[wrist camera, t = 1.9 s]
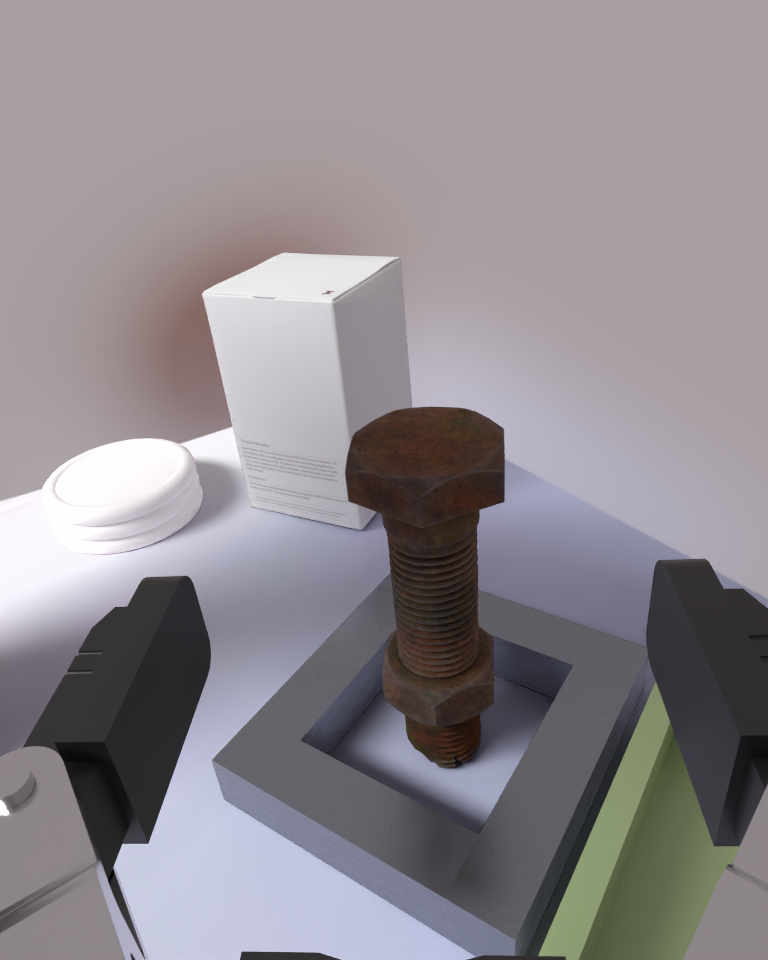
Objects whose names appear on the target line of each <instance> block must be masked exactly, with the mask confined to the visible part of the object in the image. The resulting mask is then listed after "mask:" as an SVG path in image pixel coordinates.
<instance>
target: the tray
mask: <svg viewBox="0 0 768 960" xmlns="http://www.w3.org/2000/svg"><path fill="white" fill-rule="evenodd" d="M739 847H740V846H714V845H713V842H712V840H711V837H710V834H709V831H708V828H707V825H706V822H705V820H704V817H703V814H702V811H701V808H700V805H699V803H698V800H697V797H696V794H695V791H694V788H693V785H692V783H691V780H690V777H689V774H688V771H687V768H686V766H685V763H684V760H683V757H682V754H681V751H680V748H679V746H678V743H677V740H676V737H675V734H674V731H673V728H672V726H671V723H670V720H669V717H668V714H667V711H666V709H665V706H664V703H663V700H662V697H661V694H660V691H659V689H658V686H657V683H656V681H655V684H654V686H653V688H652V691H651V693H650V695H649V698H648V700H647V702H646V705H645V707H644V709H643V712H642V714H641V716H640V719H639V721H638V724H637V726H636V728H635V731H634V733H633V735H632V738H631V740H630V742H629V745H628V747H627V749H626V752H625V754H624V756H623V759H622V761H621V763H620V766H619V768H618V770H617V773H616V775H615V777H614V780H613V782H612V784H611V787H610V789H609V791H608V794H607V796H606V798H605V801H604V803H603V805H602V808H601V810H600V812H599V815H598V817H597V819H596V822H595V824H594V826H593V829H592V831H591V833H590V836H589V838H588V840H587V843H586V845H585V847H584V850H583V852H582V854H581V857H580V859H579V861H578V864H577V866H576V868H575V871H574V873H573V875H572V878H571V880H570V882H569V885H568V887H567V889H566V892H565V894H564V896H563V899H562V901H561V903H560V906H559V908H558V910H557V913H556V915H555V917H554V920H553V922H552V924H551V927H550V929H549V931H548V934H547V936H546V938H545V941H544V943H543V945H542V948H541V950H540V952H539V955H538V956H566V960H683V958H684V956H685V954H686V952H687V949H688V947H689V945H690V943H691V941H692V938H693V936H694V934H695V932H696V930H697V927H698V925H699V923H700V921H701V919H702V916H703V914H704V912H705V910H706V908H707V905H708V903H709V901H710V899H711V897H712V894H713V892H714V890H715V888H716V886H717V883H718V881H719V879H720V877H721V875H722V873H723V871H724V869H725V868H726V866H727V865H728V864H730V865H731V864H732V862H733V860H734V858H735V856H736V854H737V851H738V849H739Z"/></svg>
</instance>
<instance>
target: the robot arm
mask: <svg viewBox="0 0 768 960" xmlns="http://www.w3.org/2000/svg"><path fill="white" fill-rule="evenodd" d="M646 640H647V651H648V657H649V662H650V665H651V669H652V672H653V674H654V677H655V680H656V683H657V686H658V689H659V691H660V694H661V697H662V700H663V703H664V706H665V709H666V711H667V714H668V717H669V720H670V723H671V726H672V728H673V731H674V734H675V737H676V740H677V743H678V746H679V748H680V751H681V754H682V757H683V760H684V763H685V766H686V768H687V771H688V774H689V777H690V780H691V783H692V785H693V788H694V791H695V794H696V797H697V800H698V803H699V805H700V808H701V811H702V814H703V817H704V820H705V822H706V825H707V828H708V831H709V834H710V837H711V840H712V842H713V845H714V846H740V847H739V849H738V851H737V854H736V856H735V858H734V860H733V862H732V864H731V865H730V864H728V865H727V866H726V868H725V869H724V871H723V873H722V875H721V877H720V879H719V881H718V883H717V886H716V888H715V890H714V892H713V894H712V897H711V899H710V901H709V903H708V905H707V908H706V910H705V912H704V914H703V916H702V919H701V921H700V923H699V925H698V927H697V930H696V932H695V934H694V936H693V938H692V941H691V943H690V945H689V947H688V949H687V952H686V954H685V956H684V958H683V960H768V609H767V608H766V607H765V606H764V605H762V604H761V603H760V602H759V601H758V600H756V599H755V598H754V597H753V596H751V595H750V594H749V593H748V592H746V591H745V590H744V589H723V587H722V585H721V583H720V581H719V579H718V578H717V576H716V574H715V572H714V570H713V568H712V566H711V565H710V563H709V562H708V561H707V560H706V559H683V560H659V561H658V562H657V563H656V565H655V569H654V576H653V584H652V591H651V599H650V607H649V614H648V622H647V632H646ZM210 660H211V649H210V641H209V637H208V633H207V630H206V626H205V623H204V619H203V616H202V612H201V609H200V605H199V602H198V599H197V595H196V592H195V588H194V585H193V582H192V580H191V579H190V578H189V577H188V576H170V577H147V578H144V579H143V580H142V581H141V583H140V584H139V586H138V588H137V590H136V592H135V593H134V595H133V597H132V599H131V601H130V603H129V604H128V606H127V607H115V608H114V609H113V610H112V611H111V612H109V613H108V614H107V615H106V616H105V617H104V618H103V619H102V620H100V621H99V622H98V623H97V624H96V625H95V626H94V627H93V628H92V629H91V631H90V633H89V634H88V636H87V638H86V640H85V641H84V643H83V645H82V646H81V648H80V650H79V656H76V657H75V658H74V660H73V662H72V664H71V665H70V667H69V669H68V675H65V676H64V677H63V679H62V681H61V683H60V684H59V686H58V688H57V690H56V691H55V693H54V695H53V696H52V698H51V700H50V702H49V703H48V705H47V707H46V708H45V710H44V712H43V714H42V715H41V717H40V719H39V721H38V722H37V724H36V726H35V727H34V729H33V731H32V733H31V734H30V736H29V738H28V739H27V741H26V743H25V745H24V746H23V748H20V749H17V750H14V751H11V752H9V753H6V754H4V755H2V756H0V960H149V959H148V956H147V954H146V951H145V948H144V945H143V943H142V940H141V937H140V934H139V932H138V929H137V926H136V923H135V920H134V918H133V915H132V912H131V909H130V907H129V904H128V901H127V898H126V896H125V893H124V890H123V887H122V885H121V882H120V879H119V876H118V874H117V871H116V869H115V867H114V864H115V861H116V859H117V856H118V853H119V851H120V848H121V846H122V844H148V843H149V840H150V837H151V835H152V832H153V829H154V826H155V823H156V820H157V818H158V815H159V812H160V809H161V806H162V804H163V801H164V798H165V795H166V792H167V789H168V787H169V784H170V781H171V778H172V775H173V772H174V770H175V767H176V764H177V761H178V758H179V755H180V753H181V750H182V747H183V744H184V741H185V739H186V736H187V733H188V730H189V727H190V724H191V722H192V719H193V716H194V713H195V710H196V707H197V705H198V702H199V699H200V696H201V693H202V690H203V688H204V685H205V682H206V679H207V676H208V673H209V668H210ZM240 960H340V959H337V958H334V957H331V956H327V955H324V954H321V953H302V952H242V953H241V958H240ZM468 960H566V956H504V955H482V956H479V957H475V958H472V959H468Z"/></svg>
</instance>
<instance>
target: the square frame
mask: <svg viewBox="0 0 768 960" xmlns="http://www.w3.org/2000/svg"><path fill="white" fill-rule="evenodd" d="M392 591H393V590H392V582H391V573H390V574H389V575H388V576H387V577H386V578H385V579H384V580H383V581H382V583H381V584H380V585H379V586H378V587H377V588H376V589H375V590H374V591H373V592H372V593H371V594H370V595H369V596H368V597H367V598H366V599H365V600H364V601H363V602H362V603H361V605H360V606H359V607H358V608H357V609H356V610H355V611H354V612H353V613H352V614H351V615H350V616H349V617H348V618H347V619H346V620H345V621H344V622H343V623H342V624H341V625H340V627H339V628H338V629H337V630H336V631H335V632H334V633H333V634H332V635H331V636H330V637H329V638H328V639H327V640H326V641H325V642H324V643H323V644H322V645H321V646H320V647H319V649H318V650H317V651H316V652H315V653H314V654H313V655H312V656H311V657H310V658H309V659H308V660H307V661H306V662H305V663H304V664H303V665H302V666H301V667H300V668H299V669H298V671H297V672H296V673H295V674H294V675H293V676H292V677H291V678H290V679H289V680H288V681H287V682H286V683H285V684H284V685H283V686H282V687H281V688H280V689H279V690H278V691H277V693H276V694H275V695H274V696H273V697H272V698H271V699H270V700H269V701H268V702H267V703H266V704H265V705H264V706H263V707H262V708H261V709H260V710H259V711H258V712H257V713H256V715H255V716H254V717H253V718H252V719H251V720H250V721H249V722H248V723H247V724H246V725H245V726H244V727H243V728H242V729H241V730H240V731H239V732H238V733H237V734H236V735H235V736H234V738H233V739H232V740H231V741H230V742H229V743H228V744H227V745H226V746H225V747H224V748H223V749H222V750H221V751H220V752H219V753H218V754H217V755H216V756H215V757H214V758H213V760H212V762H213V765H214V769H215V772H216V775H217V778H218V781H219V784H220V787H221V790H222V794H223V797H224V799H225V800H226V801H228V802H230V803H231V804H233V805H234V806H236V807H238V808H239V809H241V810H242V811H244V812H246V813H247V814H249V815H250V816H252V817H254V818H255V819H257V820H258V821H260V822H262V823H263V824H265V825H266V826H268V827H270V828H271V829H273V830H274V831H276V832H278V833H279V834H281V835H282V836H284V837H286V838H287V839H289V840H290V841H292V842H294V843H295V844H297V845H298V846H300V847H302V848H303V849H305V850H306V851H308V852H310V853H311V854H313V855H315V856H316V857H318V858H319V859H321V860H323V861H324V862H326V863H327V864H329V865H331V866H332V867H334V868H335V869H337V870H339V871H340V872H342V873H343V874H345V875H347V876H348V877H350V878H351V879H353V880H355V881H356V882H358V883H359V884H361V885H363V886H364V887H366V888H367V889H369V890H371V891H372V892H374V893H375V894H377V895H379V896H380V897H382V898H383V899H385V900H387V901H388V902H390V903H391V904H393V905H395V906H396V907H398V908H399V909H401V910H403V911H404V912H406V913H408V914H409V915H411V916H412V917H414V918H416V919H417V920H419V921H420V922H422V923H424V924H425V925H427V926H428V927H430V928H432V929H433V930H435V931H436V932H438V933H440V934H441V935H443V936H444V937H446V938H448V939H449V940H451V941H452V942H454V943H456V944H457V945H459V946H460V947H462V948H464V949H465V950H467V951H468V952H470V953H472V954H473V955H475V956H476V957H479V956H482V955H504V956H525V955H526V953H527V950H528V948H529V946H530V943H531V941H532V939H533V937H534V934H535V932H536V930H537V928H538V925H539V923H540V921H541V919H542V916H543V914H544V912H545V909H546V907H547V905H548V903H549V900H550V898H551V896H552V894H553V891H554V889H555V887H556V885H557V882H558V880H559V878H560V876H561V873H562V871H563V869H564V866H565V864H566V862H567V860H568V857H569V855H570V853H571V851H572V848H573V846H574V844H575V842H576V839H577V837H578V835H579V832H580V830H581V828H582V826H583V823H584V821H585V819H586V817H587V814H588V812H589V810H590V808H591V805H592V803H593V801H594V798H595V796H596V794H597V792H598V789H599V787H600V785H601V783H602V780H603V778H604V776H605V774H606V771H607V769H608V767H609V764H610V762H611V760H612V758H613V755H614V753H615V751H616V749H617V746H618V744H619V742H620V740H621V737H622V735H623V733H624V730H625V728H626V726H627V724H628V721H629V719H630V717H631V715H632V712H633V710H634V708H635V706H636V703H637V701H638V699H639V697H640V694H641V692H642V690H643V686H644V679H645V673H646V666H647V660H648V651H647V647H644V646H641V645H638V644H635V643H632V642H629V641H626V640H623V639H620V638H617V637H614V636H611V635H608V634H605V633H602V632H599V631H596V630H593V629H590V628H588V627H585V626H582V625H579V624H576V623H573V622H570V621H567V620H564V619H561V618H558V617H555V616H552V615H549V614H546V613H543V612H540V611H537V610H534V609H531V608H529V607H526V606H523V605H520V604H517V603H514V602H511V601H508V600H505V599H502V598H499V597H496V596H493V595H490V594H487V593H484V592H481V591H478V621H479V627H481V628H482V629H484V630H485V631H486V632H487V633H489V634H490V635H491V636H493V637H494V675H497V676H499V677H502V678H504V679H507V680H509V681H512V682H514V683H517V684H519V685H522V686H524V687H527V688H529V689H532V690H534V691H537V692H539V693H542V694H544V695H547V696H549V697H552V698H554V701H553V703H552V705H551V706H550V708H549V710H548V712H547V714H546V715H545V717H544V719H543V721H542V723H541V724H540V726H539V728H538V730H537V732H536V733H535V735H534V737H533V739H532V740H531V742H530V744H529V746H528V748H527V749H526V751H525V753H524V755H523V757H522V758H521V760H520V762H519V764H518V766H517V767H516V769H515V771H514V773H513V775H512V776H511V778H510V780H509V782H508V783H507V785H506V787H505V789H504V791H503V792H502V794H501V796H500V798H499V800H498V801H497V803H496V805H495V807H494V809H493V810H492V812H491V814H490V816H489V818H488V819H487V821H486V823H485V825H484V826H483V828H482V830H481V832H480V834H479V835H478V834H477V833H475V832H473V831H471V830H469V829H467V828H465V827H463V826H461V825H460V824H458V823H456V822H454V821H452V820H450V819H448V818H446V817H444V816H443V815H441V814H439V813H437V812H435V811H433V810H431V809H429V808H427V807H425V806H424V805H422V804H420V803H418V802H416V801H414V800H412V799H410V798H408V797H407V796H405V795H403V794H401V793H399V792H397V791H395V790H393V789H391V788H390V787H388V786H386V785H384V784H382V783H380V782H378V781H376V780H374V779H372V778H371V777H369V776H367V775H365V774H363V773H361V772H359V771H357V770H355V769H354V768H352V767H350V766H348V765H346V764H344V763H342V762H340V761H338V760H336V759H335V758H333V757H331V756H329V754H330V753H331V751H332V750H333V749H334V748H335V746H336V745H337V744H338V743H339V742H340V740H341V739H342V738H343V737H344V735H345V734H346V733H347V732H348V730H349V729H350V728H351V727H352V726H353V724H354V723H355V722H356V721H357V719H358V718H359V717H360V716H361V714H362V713H363V712H364V711H365V709H366V708H367V707H368V706H369V705H370V703H371V702H372V701H373V700H374V698H375V697H376V696H377V695H378V693H379V692H380V691H381V690H382V688H383V684H382V673H383V662H384V655H385V648H386V644H387V640H388V637H389V635H390V634H391V633H392V632H393V631H395V630H396V617H395V610H394V603H393V592H392Z"/></svg>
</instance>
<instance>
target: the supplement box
mask: <svg viewBox="0 0 768 960" xmlns="http://www.w3.org/2000/svg"><path fill="white" fill-rule="evenodd" d="M202 296H203V299H204V303H205V307H206V311H207V315H208V320H209V324H210V328H211V332H212V337H213V341H214V346H215V350H216V355H217V359H218V364H219V368H220V372H221V377H222V381H223V386H224V390H225V395H226V399H227V403H228V408H229V412H230V417H231V421H232V425H233V430H234V435H235V439H236V443H237V448H238V452H239V457H240V461H241V465H242V470H243V474H244V479H245V483H246V488H247V492H248V497H249V502H250V506H252V507H255V508H260V509H265V510H269V511H274V512H279V513H283V514H288V515H293V516H297V517H302V518H306V519H311V520H316V521H320V522H325V523H329V524H334V525H339V526H343V527H348V528H353V529H357V530H362V529H363V528H364V527H365V526H366V525H367V524H368V522H369V521H370V520H371V519H372V518H373V516H374V515H375V514H376V513H377V512H376V511H373V510H370V509H368V508H365V507H362V506H359V505H357V504H354V503H351V502H348V495H347V486H346V478H345V468H346V460H347V455H348V451H349V447H350V443H351V440H352V437H353V435H354V433H355V432H356V431H358V430H359V429H361V428H362V427H364V426H365V425H367V424H368V423H370V422H372V421H373V420H375V419H377V418H379V417H381V416H383V415H385V414H387V413H389V412H392V411H395V410H399V409H405V408H412V398H411V387H410V375H409V374H410V373H409V361H408V347H407V336H406V320H405V308H404V295H403V281H402V265H401V258H400V257H376V256H346V255H345V256H344V255H319V254H318V255H317V254H295V253H282V254H280V255H277V256H275V257H273V258H271V259H269V260H267V261H265V262H263V263H261V264H259V265H257V266H255V267H253V268H251V269H249V270H247V271H245V272H243V273H241V274H238V275H236V276H234V277H232V278H230V279H228V280H225V281H224V282H221V283H219V284H217V285H215V286H213V287H211V288H209V289H207V290H206V291H204V292H203V294H202Z"/></svg>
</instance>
